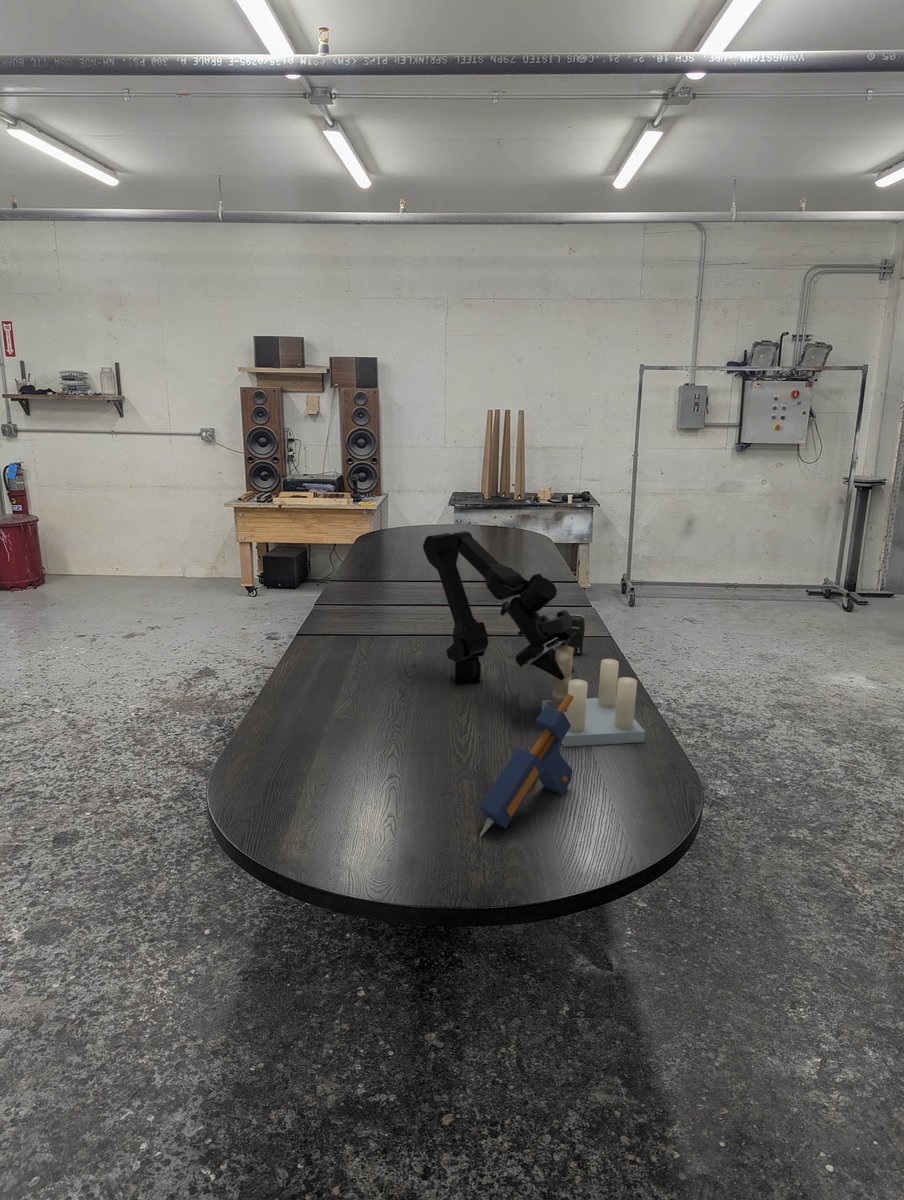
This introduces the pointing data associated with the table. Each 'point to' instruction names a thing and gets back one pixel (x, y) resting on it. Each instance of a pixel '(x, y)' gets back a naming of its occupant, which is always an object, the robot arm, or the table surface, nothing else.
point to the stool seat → (602, 710)
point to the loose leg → (565, 664)
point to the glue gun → (531, 769)
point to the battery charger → (577, 634)
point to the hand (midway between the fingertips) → (567, 676)
